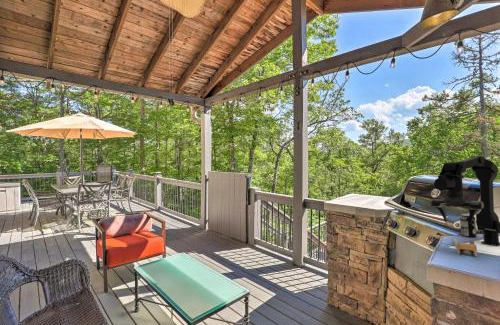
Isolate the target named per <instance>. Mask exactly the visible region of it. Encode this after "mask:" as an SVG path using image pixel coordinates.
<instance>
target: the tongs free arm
mask: <svg viewBox="0 0 500 325" xmlns="http://www.w3.org/2000/svg"><path fill="white" fill-rule="evenodd" d="M458 243H460V241H459V240H457V239H451V244H453V246H455V248H456V249H457V250H458V245H457V244H458ZM460 253H462V249H460Z"/></svg>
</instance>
